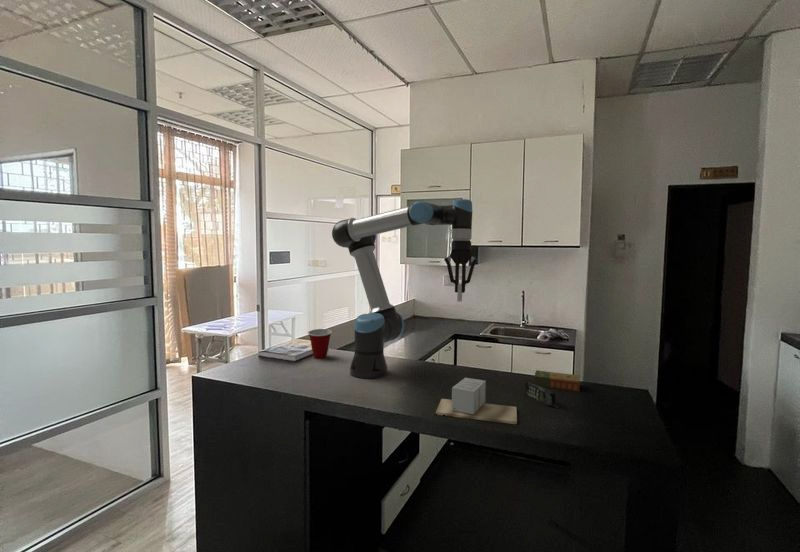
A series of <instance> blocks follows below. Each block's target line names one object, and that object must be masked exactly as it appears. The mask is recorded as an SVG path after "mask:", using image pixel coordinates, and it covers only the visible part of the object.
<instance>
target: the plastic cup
mask: <svg viewBox="0 0 800 552" xmlns="http://www.w3.org/2000/svg"><path fill="white" fill-rule="evenodd" d="M332 333H333V331H332V330H331V329H328V328H316V329H310V330H309V331H307V334H308V337H309V339H310V340H309V341H310V345H311V351H312V356H313V358H314V359H325V358H327V356H328V350H329V345H330V338H331V335H332Z"/></svg>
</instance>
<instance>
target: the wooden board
mask: <svg viewBox="0 0 800 552" xmlns="http://www.w3.org/2000/svg"><path fill="white" fill-rule="evenodd" d="M435 414H437V415H436V416H443V415H445V416H446V417H451V416H452V417H454V418H459V419H460V418H461V419H468V420H478V421H486V422H493V423H501V424H502V423H503V424H511V425H518V413H517V406H512V405H511V406H510V405H505V404H504V405H501V404H493V403H486V402H485V403H484V404H483V405H482V406H481V407H480V408H479V409H478V410H477V411H476V412H475V413H474V414H468V413H463V412H458V411H452V399H447V398H441V399H440V402H439V403H438V406H437V408H436V411H435ZM445 416H444V417H445Z"/></svg>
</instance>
